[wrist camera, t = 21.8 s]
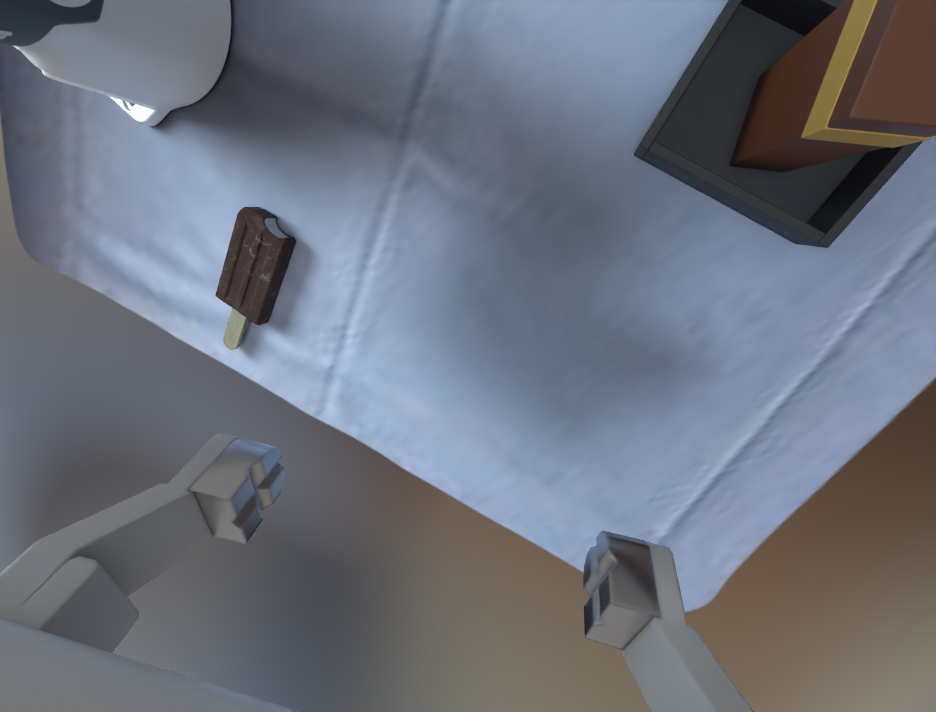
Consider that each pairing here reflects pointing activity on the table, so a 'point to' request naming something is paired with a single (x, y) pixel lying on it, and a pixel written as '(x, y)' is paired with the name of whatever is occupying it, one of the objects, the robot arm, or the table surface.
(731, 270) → the table surface
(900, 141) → the chocolate box
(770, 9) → the tray
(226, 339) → the ice cream bar
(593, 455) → the table surface
